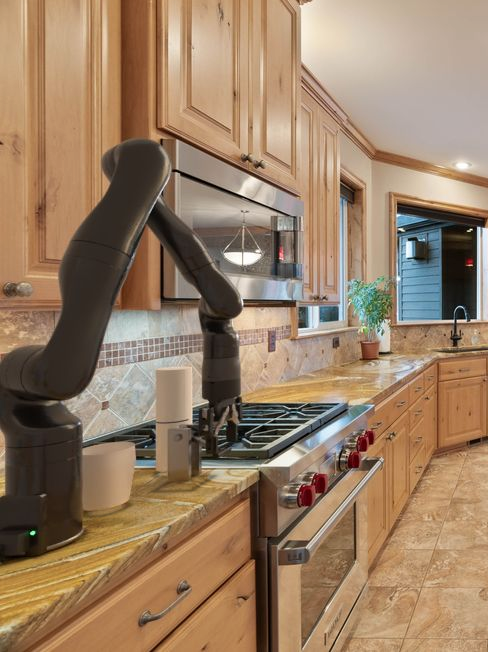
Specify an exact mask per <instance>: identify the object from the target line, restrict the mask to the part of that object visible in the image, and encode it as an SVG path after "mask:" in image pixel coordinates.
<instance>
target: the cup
mask: <svg viewBox="0 0 488 652" xmlns="http://www.w3.org/2000/svg"><path fill="white" fill-rule="evenodd" d="M136 462H137V455H136V444H135V442H132V441H114V442H105V443H99V444H94V445H90V446H86V447H83V511H87V512H90V511H93V512H94V511H102V510H106V509H107V510H108V509H111V508H115V507H118V506H121V505H123V504H125V503H127V502H128V501H129V500H130V498H131V497H130V496H131V491H132V485H133V479H134V473H135V468H136Z"/></svg>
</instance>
